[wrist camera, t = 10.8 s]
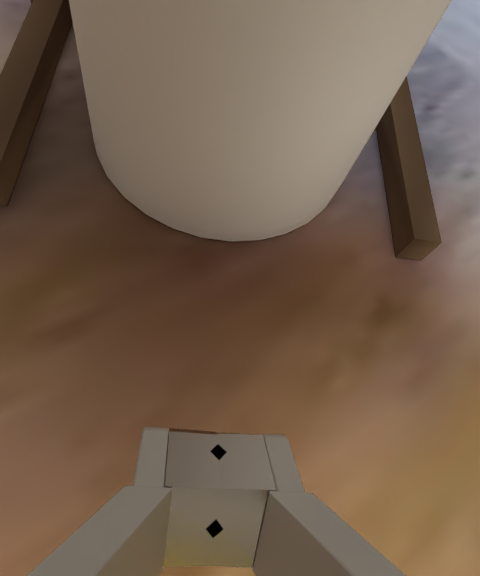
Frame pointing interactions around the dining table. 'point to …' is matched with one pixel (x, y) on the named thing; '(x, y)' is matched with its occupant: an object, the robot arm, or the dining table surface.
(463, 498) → the dining table surface
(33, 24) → the corral
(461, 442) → the dining table surface
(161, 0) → the cup
